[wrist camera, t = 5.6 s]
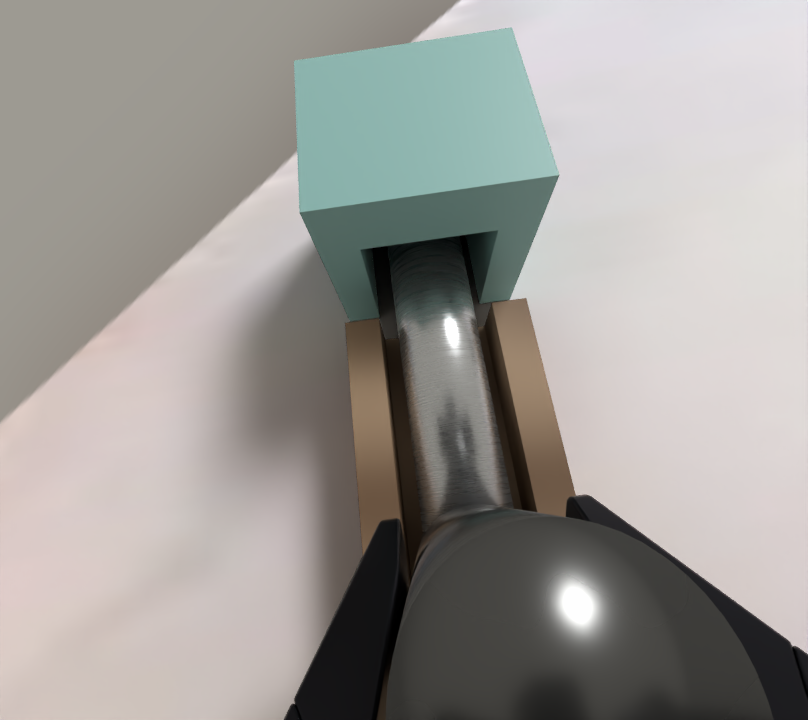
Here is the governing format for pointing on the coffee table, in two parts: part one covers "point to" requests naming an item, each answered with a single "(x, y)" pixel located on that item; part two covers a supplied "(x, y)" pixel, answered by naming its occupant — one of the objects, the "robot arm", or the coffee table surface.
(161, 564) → the coffee table surface
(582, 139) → the coffee table surface
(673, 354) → the coffee table surface
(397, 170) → the socket block
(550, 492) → the guide
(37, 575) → the coffee table surface
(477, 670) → the slip rod
